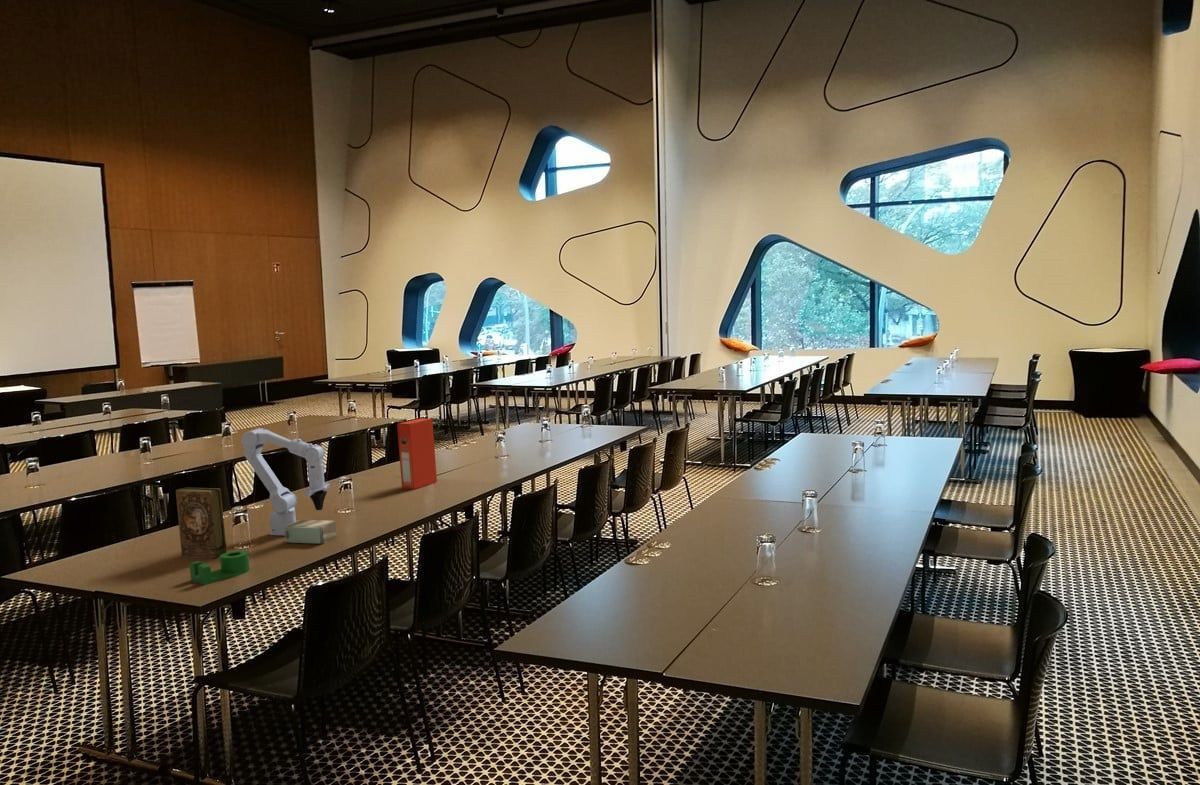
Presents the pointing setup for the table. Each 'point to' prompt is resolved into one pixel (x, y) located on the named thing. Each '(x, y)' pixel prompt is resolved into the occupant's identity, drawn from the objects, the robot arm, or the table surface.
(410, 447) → the file binder
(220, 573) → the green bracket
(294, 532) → the door
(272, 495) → the robot arm
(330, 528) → the cabinet
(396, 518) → the table surface
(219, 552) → the book
